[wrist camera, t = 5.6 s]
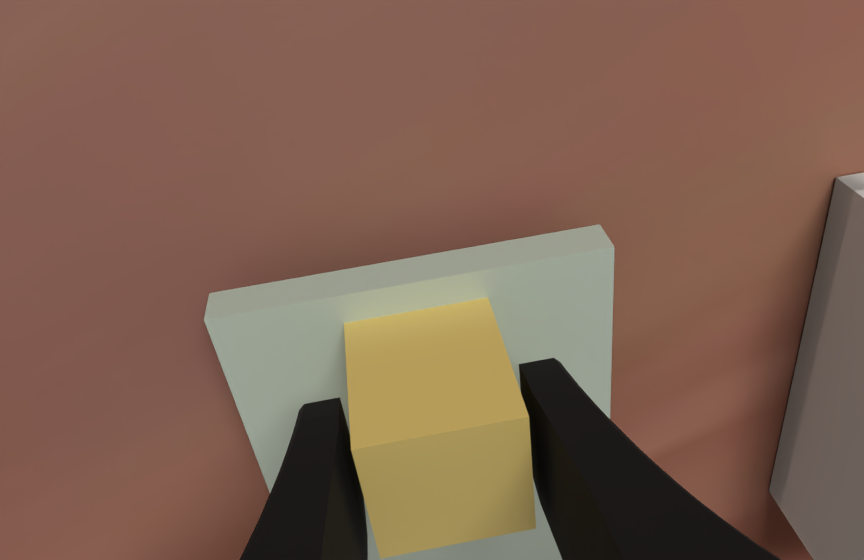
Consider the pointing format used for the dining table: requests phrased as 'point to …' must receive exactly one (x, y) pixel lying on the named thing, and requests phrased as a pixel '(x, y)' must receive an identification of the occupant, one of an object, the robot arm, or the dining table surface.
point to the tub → (829, 395)
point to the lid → (427, 380)
